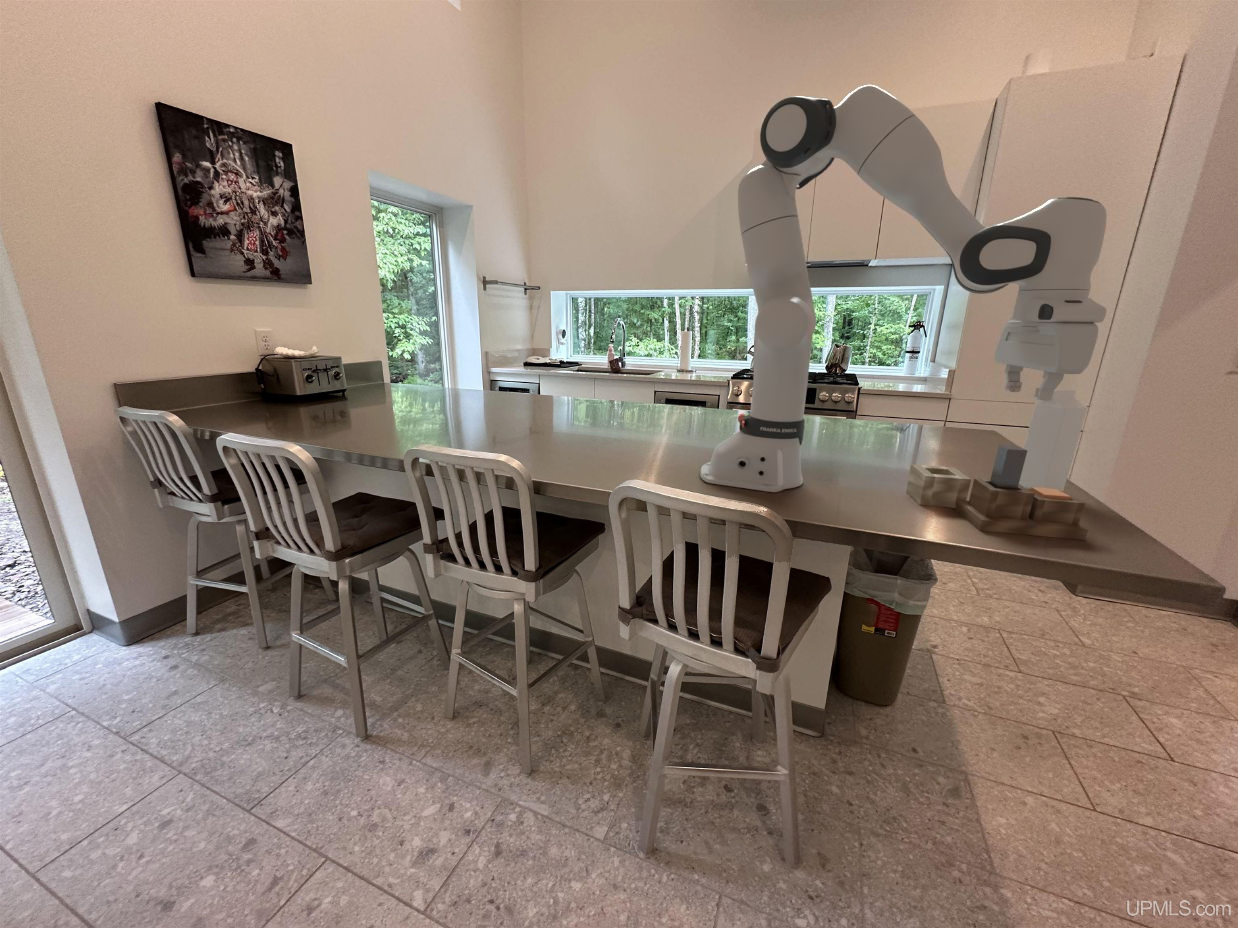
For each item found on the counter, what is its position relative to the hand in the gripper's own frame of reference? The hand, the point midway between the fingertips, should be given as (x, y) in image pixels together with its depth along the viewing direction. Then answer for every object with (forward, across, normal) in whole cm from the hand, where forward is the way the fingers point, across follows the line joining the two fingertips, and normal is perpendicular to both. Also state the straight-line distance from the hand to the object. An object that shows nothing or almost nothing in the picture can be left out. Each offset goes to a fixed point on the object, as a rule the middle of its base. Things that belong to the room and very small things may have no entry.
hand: (1026, 395), depth 85 cm
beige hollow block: (+23, -10, -7) cm, 26 cm away
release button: (+21, 0, +7) cm, 22 cm away
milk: (+23, -21, +17) cm, 36 cm away
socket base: (+23, 0, +3) cm, 23 cm away
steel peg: (+21, 0, 0) cm, 21 cm away
